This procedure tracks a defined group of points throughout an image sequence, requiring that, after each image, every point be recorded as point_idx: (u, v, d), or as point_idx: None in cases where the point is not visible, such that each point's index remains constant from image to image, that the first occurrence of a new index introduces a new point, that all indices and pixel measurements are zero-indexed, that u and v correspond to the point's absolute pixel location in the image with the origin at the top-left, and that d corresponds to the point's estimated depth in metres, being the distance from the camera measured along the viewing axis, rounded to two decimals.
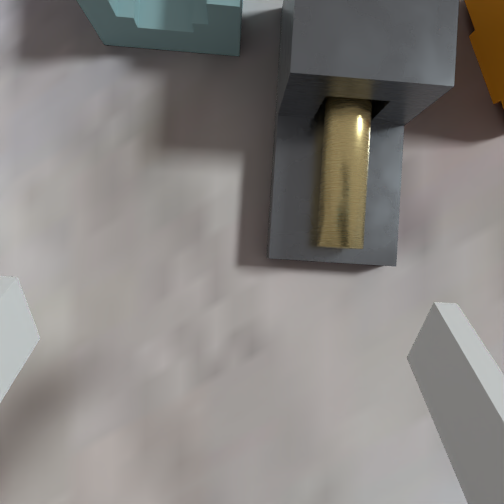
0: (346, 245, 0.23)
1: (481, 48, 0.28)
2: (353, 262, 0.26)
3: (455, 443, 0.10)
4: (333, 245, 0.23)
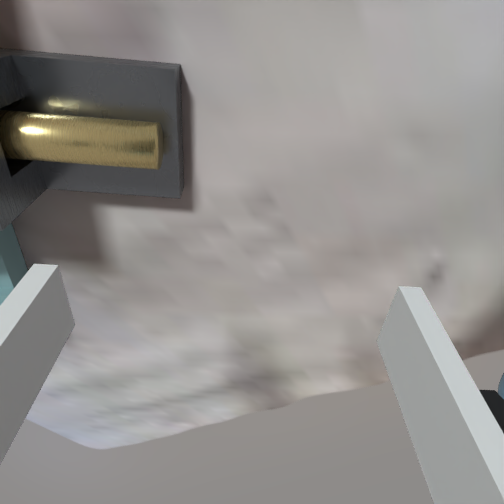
0: (152, 154, 0.23)
1: None
2: (175, 119, 0.25)
3: (414, 418, 0.11)
4: (154, 164, 0.24)
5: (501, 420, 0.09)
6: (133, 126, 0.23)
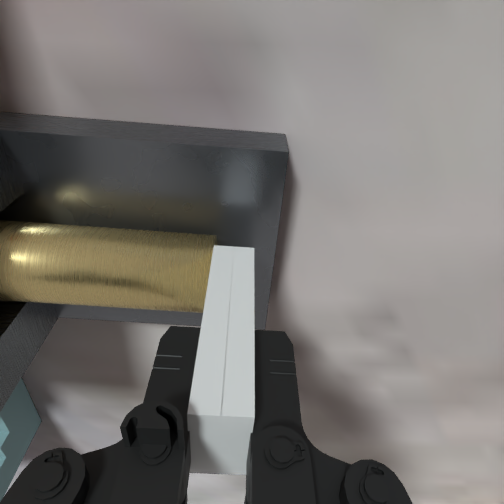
0: None
1: None
2: (276, 226, 0.15)
3: None
4: None
5: (275, 354, 0.10)
6: (173, 250, 0.13)
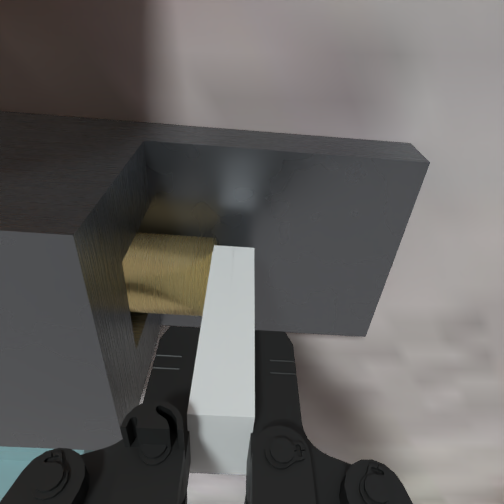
0: None
1: None
2: (401, 235, 0.15)
3: None
4: None
5: (275, 354, 0.10)
6: (173, 254, 0.13)
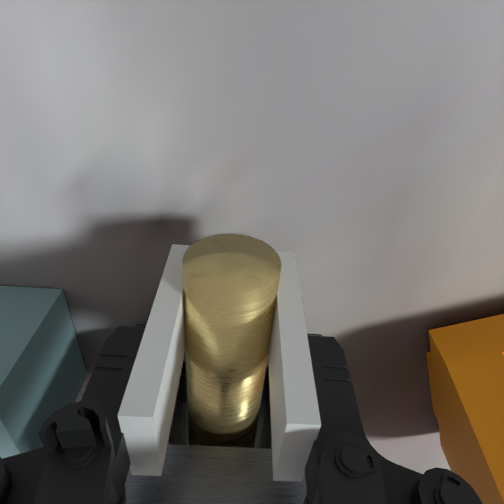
0: None
1: (433, 381, 0.19)
2: None
3: (270, 365, 0.12)
4: None
5: (327, 359, 0.10)
6: None
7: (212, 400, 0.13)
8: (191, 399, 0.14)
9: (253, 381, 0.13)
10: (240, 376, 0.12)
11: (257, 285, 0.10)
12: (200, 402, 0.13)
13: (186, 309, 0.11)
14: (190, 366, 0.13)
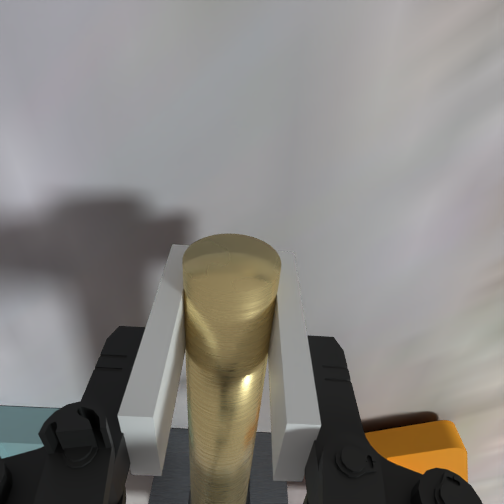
0: None
1: None
2: None
3: (271, 365, 0.12)
4: None
5: (327, 360, 0.10)
6: None
7: (212, 400, 0.13)
8: (191, 399, 0.14)
9: (253, 380, 0.13)
10: (240, 375, 0.12)
11: (256, 284, 0.10)
12: (200, 401, 0.13)
13: (186, 309, 0.11)
14: (190, 366, 0.13)
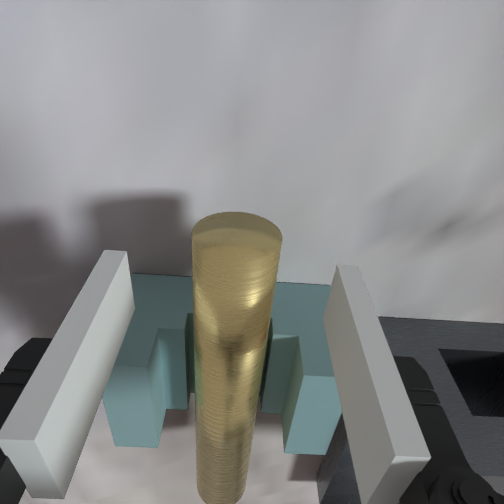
0: None
1: None
2: None
3: (342, 385, 0.11)
4: None
5: (413, 382, 0.10)
6: (245, 480, 0.21)
7: (221, 366, 0.14)
8: (200, 367, 0.15)
9: (257, 345, 0.14)
10: (247, 340, 0.13)
11: (262, 254, 0.11)
12: (209, 368, 0.14)
13: (196, 281, 0.12)
14: (199, 335, 0.14)
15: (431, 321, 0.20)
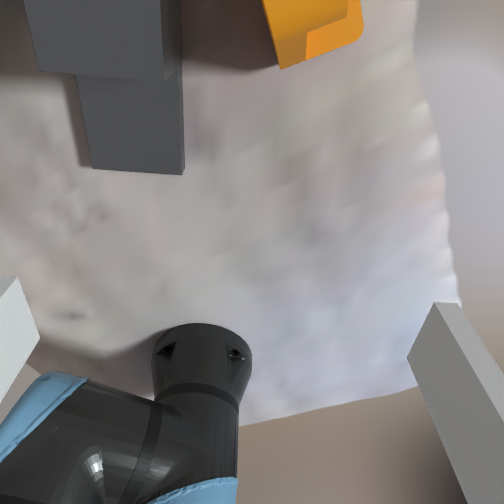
0: None
1: None
2: (151, 172, 0.38)
3: (455, 443, 0.10)
4: None
5: None
6: None
7: None
8: None
9: None
10: None
11: None
12: None
13: None
14: None
15: None
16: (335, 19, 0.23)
